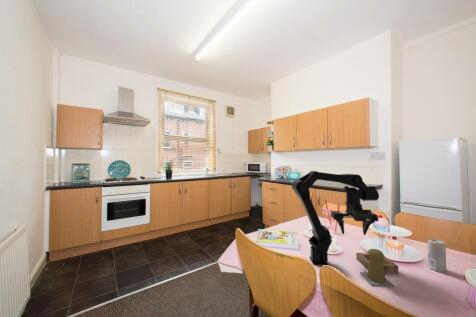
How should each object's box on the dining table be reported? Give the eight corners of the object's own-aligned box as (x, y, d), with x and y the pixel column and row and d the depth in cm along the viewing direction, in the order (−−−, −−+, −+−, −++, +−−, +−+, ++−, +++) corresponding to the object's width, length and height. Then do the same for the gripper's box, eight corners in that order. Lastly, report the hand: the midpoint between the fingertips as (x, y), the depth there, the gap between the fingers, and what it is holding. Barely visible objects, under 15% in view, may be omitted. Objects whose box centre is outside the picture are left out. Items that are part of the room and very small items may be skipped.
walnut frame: (370, 272, 80) (370, 265, 80) (356, 258, 91) (356, 252, 91) (398, 273, 79) (398, 266, 79) (381, 259, 90) (381, 253, 90)
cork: (389, 284, 72) (388, 254, 72) (370, 282, 73) (370, 253, 73) (381, 274, 78) (380, 247, 78) (364, 273, 79) (363, 246, 79)
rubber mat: (371, 285, 72) (371, 284, 72) (360, 273, 80) (360, 272, 80) (394, 287, 71) (394, 285, 71) (380, 274, 79) (380, 272, 79)
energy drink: (441, 267, 84) (440, 239, 84) (449, 273, 79) (449, 244, 79) (425, 264, 85) (425, 237, 86) (433, 271, 80) (432, 242, 81)
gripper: (338, 204, 84) (338, 240, 83) (385, 205, 81) (386, 242, 81) (329, 199, 95) (330, 231, 94) (371, 199, 92) (371, 232, 92)
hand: (353, 234), depth 90 cm, fingers open, 9 cm apart
